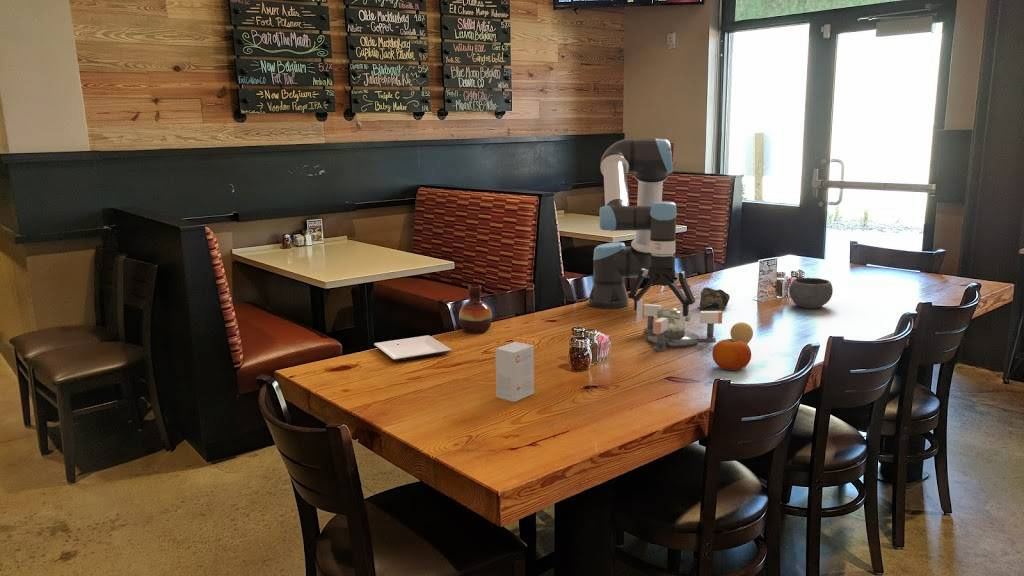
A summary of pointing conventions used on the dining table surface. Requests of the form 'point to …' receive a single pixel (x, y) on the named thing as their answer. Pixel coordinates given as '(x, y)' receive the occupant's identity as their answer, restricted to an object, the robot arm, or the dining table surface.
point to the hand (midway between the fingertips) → (660, 324)
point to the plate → (412, 348)
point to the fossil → (714, 298)
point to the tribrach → (675, 332)
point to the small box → (514, 371)
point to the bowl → (810, 292)
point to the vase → (475, 312)
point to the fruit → (731, 354)
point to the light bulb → (742, 332)
